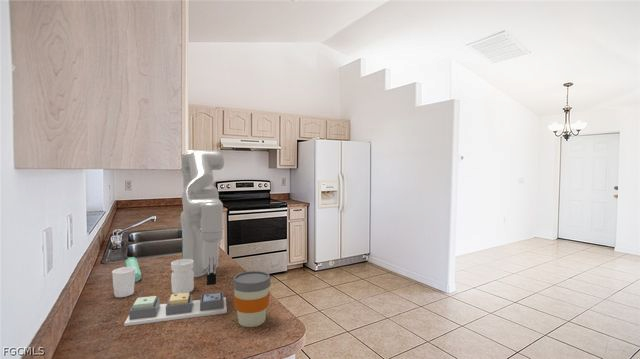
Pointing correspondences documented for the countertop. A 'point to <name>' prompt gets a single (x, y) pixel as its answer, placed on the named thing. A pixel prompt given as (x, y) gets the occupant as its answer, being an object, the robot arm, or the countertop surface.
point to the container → (134, 263)
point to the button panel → (176, 310)
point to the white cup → (123, 281)
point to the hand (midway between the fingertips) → (211, 283)
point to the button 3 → (212, 297)
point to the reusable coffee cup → (251, 297)
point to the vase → (182, 276)
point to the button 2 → (179, 299)
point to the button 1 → (145, 302)
